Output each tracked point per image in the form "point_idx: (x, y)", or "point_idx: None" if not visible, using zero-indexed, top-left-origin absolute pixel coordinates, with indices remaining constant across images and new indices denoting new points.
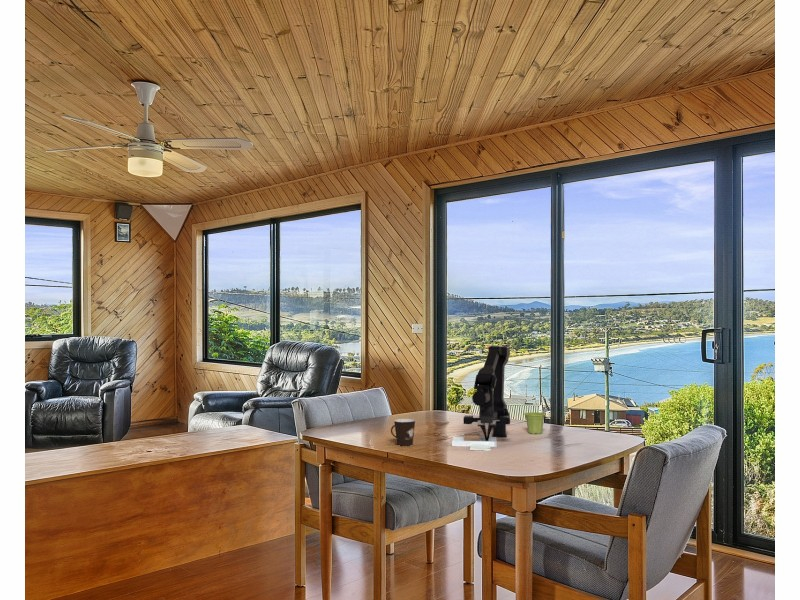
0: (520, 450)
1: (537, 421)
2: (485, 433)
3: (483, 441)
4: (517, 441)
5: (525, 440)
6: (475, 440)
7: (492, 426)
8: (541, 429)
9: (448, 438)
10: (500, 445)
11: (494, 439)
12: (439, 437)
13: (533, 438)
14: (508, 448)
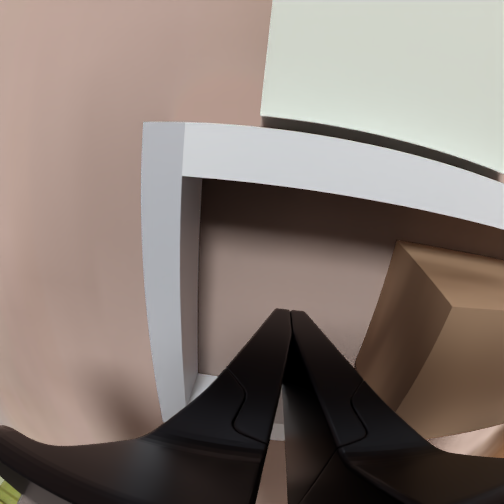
0: (4, 5)
1: (10, 485)
2: (326, 378)
3: (381, 159)
4: (38, 367)
5: (15, 377)
6: (463, 272)
7: (73, 458)
8: None
9: (475, 450)
10: (126, 222)
11: (175, 318)
12: (493, 454)
13: (8, 403)
14: (61, 53)
